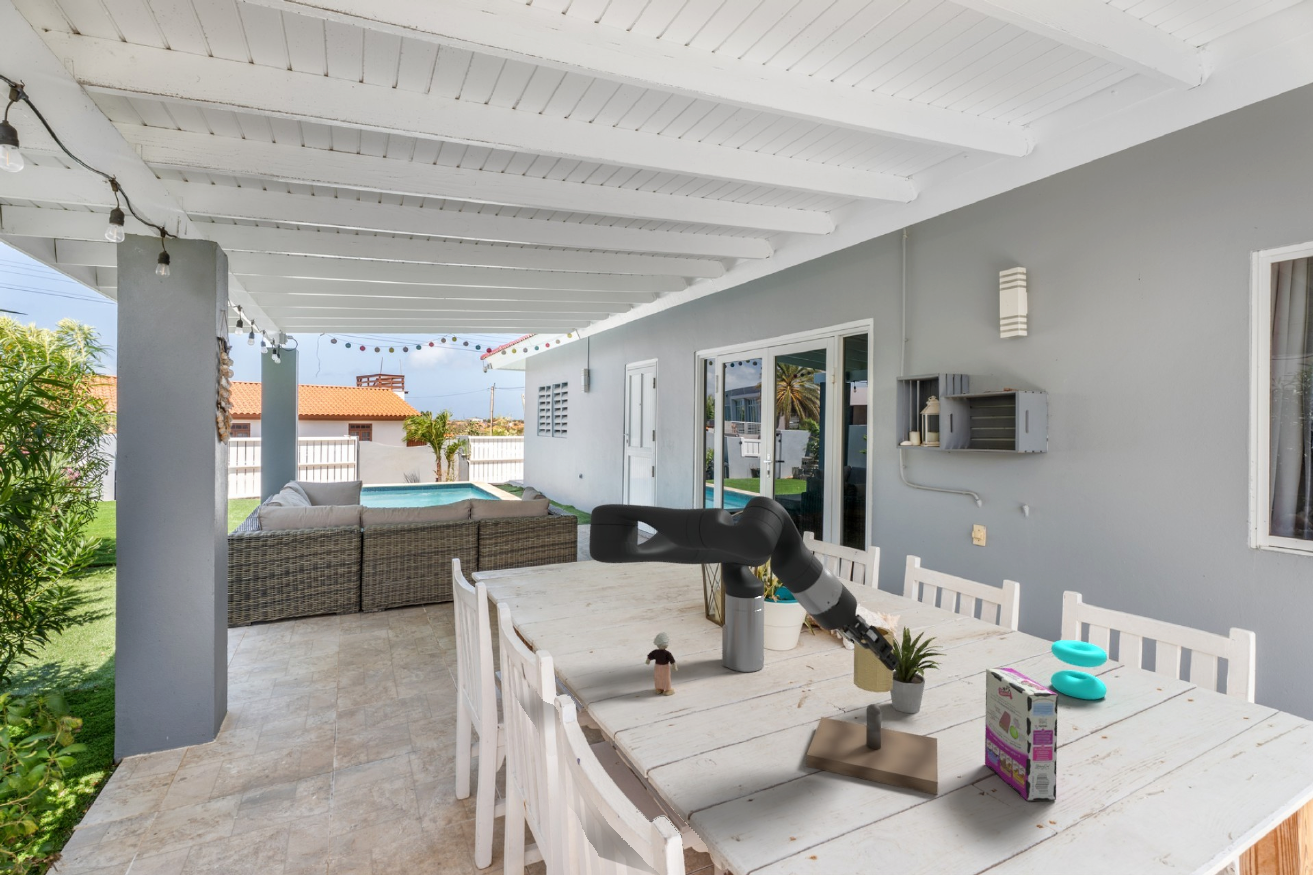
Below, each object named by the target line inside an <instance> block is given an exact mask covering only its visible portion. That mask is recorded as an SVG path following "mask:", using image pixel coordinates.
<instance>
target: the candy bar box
mask: <svg viewBox="0 0 1313 875" xmlns="http://www.w3.org/2000/svg"><path fill="white" fill-rule="evenodd" d="M985 672H986V675H985V676H986V679H985V680H986V681H985V735H984V736H985V739H984V742H985V743H984V764H985V766H986V767H988V768H989V769H990V770H991V771H992V772H994V774H996V775H997V776H998V777H999V778H1000V779H1001V780H1003V781H1004V782H1005V783H1006V784H1007V785H1009V786H1010V787H1011V788H1012V789H1013V790H1014V791H1016V792H1017V793H1018V794H1019V795H1020V796H1022V797H1023V798H1024V800H1026V801H1028V802H1040V801H1042V802H1044V801H1048V802H1050V801H1056V800H1057V759H1058V758H1057V754H1058V753H1057V752H1058V750H1057V749H1058V745H1057V743H1058V707H1059V706H1058V700H1059V698H1058V695H1059V694H1058V693H1056V692H1054V691H1052V690H1050V689H1049V688H1048V687H1045V685H1042V684H1041V683H1039V682H1036V681H1035V680H1033V679H1031V678H1029V677H1028V676H1026V675H1024V674H1022V673H1021V672H1020V671H1017V670H1015V669H1014V668H1012V667H1008V668H1007V667H1001V668H986V669H985Z"/></svg>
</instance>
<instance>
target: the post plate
mask: <svg viewBox="0 0 1313 875" xmlns="http://www.w3.org/2000/svg"><path fill="white" fill-rule="evenodd" d="M865 723H866V725H865V724H861V723H855V722H852V721H851V722H850V721H845V720H839V719H834V718H829V717H824V716H821V717H820V719H819V723H818V724H817V728H816V730H815V732H814V735H813V738H812V741H811V742H810V744H809V748H808V750H807V753H806V767H808V768H813V769H816V770H817V769H818V770H821V771H825V772H830V773H834V774H839V775H844V776H849V777H854V778H859V779H863V780H867V781H872V782H878V783H880V784H886V785H890V786H894V787H899V788H902V789H903V788H904V789H909V790H912V791H918V792H922V793H928V794H932V795H937V796H938V792H939V791H938V790H939V789H938V787H939V785H938V784H939V783H938V782H939V781H938V779H939V777H938V772H939V771H938V770H939V769H938V768H939V767H938V738H937V737H932V736H928V735H926V736H925V735H921V734H914V733H909V732H904V731H901V730H900V731H899V730H892V729H889V728H883V727H882V710H881V707H880V706H879V705H878V704H876V703H871V704H869V705H868V706H867V708H866V722H865Z"/></svg>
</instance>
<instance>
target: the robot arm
mask: <svg viewBox="0 0 1313 875" xmlns="http://www.w3.org/2000/svg"><path fill="white" fill-rule="evenodd" d="M589 522H590V523H589V524H590V525H589V541H588V542H589V548H588V550H589V555H590V558H592V559H593V560H594V561H596V562H600V563H605V564H630V563H633V564H635V563H665V564H667V563H668V564H678V565H679V564H681V565H709V564H711V565H712V564H721V573H722V574H721V577H722V581H723V584H724V590H725V594H724V596H725V598H724V600H725V602H724V608H725V609H724V616H725V617H724V624H723V625H722V627H721V628H722V633H721V634H722V636H721V637H722V639H721V640H722V641H721V642H722V644H721V645H722V646H721V647H722V648H721V651H722V653H721V658H722V659H721V660H722V661H721V666H723V667H726V668H729V669H730V670H733V671H737V672H743V673H744V672H745V673H747V672H748V673H749V672H757V671H760V670H762V669H763V668H764V667H765V666H764V664H765V663H764V662H765V646H764V645H765V584H764V582H763V581H762V580H761V578H759V577H757V576H756V575H755V574H754V573H753V572H752V571H751V569H750V567H751V568H758V567H762V566H764V565H765V564H766V563H767V562H769V561H770V562H769V564H770V565H769V567H770V570H771V573H772V574H773V575H774V576H775V577H776V578H777V580H778V581H779V582H780V583H781V584H782V585H783V586H784V587H785V588H786V590H788V592H790V593H791V595H792V596H793V597H794V599H795V600H796V602H797V603H799V605H800V606H801V607H802V608H803V609H804V611H806V613H808V615H810V616H811V617H812V618H813V620H814V621H815V622H816V623H817V624H818V625H819V626H820V627H821V629H824V630H826V631H834V630H835V631H836V632H837V633H838V635H839V636H840V637H843V638H844V639H846V640H847V641H848V642H849V643H852V645H854V641H855V642H856V643H857V644H858V645H860V646H861V647H862V648H863V649H869V650H870V651H871V652H872V653H873V654H874V655H875V656H876V657H877V658H878V659H879V660H880V661H881V662H882V663H883V664H884V665H885V666H886V667H887V668H888V669H889V670H891V671H895V668H896V667H897V666H898V664H899V660H898V659H897V658H896V657H895V655H894V654H893V653H892V652H891V651H892V650H893V649H894V647H892V645H890V644H889V642H888V641H887V640H886V639H885V638H884V637H883V636H882V634H881V633H880V632H879V631H878V630H877V629H876V627H875V626H876V625H873V624H871V625H870V624H869V623H867V621H866V619H865V618H863V616H862V615H860V614H858V613H857V607H858V602H857V601H858V600H857V599H856V597H855V596H854V594H853V593H852V592H850V590H849V589H848V588H847V587H846V586H845V584H843V583H842V581H841V580H840V579H839V578H838V577H837V576H836V575H835V574H834V573H833V572H832V571H831V570H830V569H829V568H828V567H827V566H825V565H824V564H823V563H822V562H821V561H820V560H819V559H818V558H817V557H816V556H815V555H814V554H813V553H812V551H811V550H810V549H809V548H808V547H807V546H806V544H805V542H804V539H803V537H802V536H801V534H800V531H799V529H798V528H797V526H796V524H795V523H794V521H793V519H792V517H791V515H790V514H789V513H788V511H787V509H786V508H784V506H783V505H782V504H781V503H779V502H778V501H776V500H775V499H773V498H771V497H768V496H764V495H763V496H756V497H753V498H751V499H750V500H748V502H747V503H746V504H745V506H744V508H743V510H742V513H741V514H740V517H739V518H738V520H737V522H736V524H735V523H734V518H733V517H732V514H731V513H730V512H729V511H728V510H726V509H725V508H722V507H721V508H720V507H707V508H706V507H703V508H673V507H672V508H669V507H662V506H654V505H641V504H640V505H639V504H638V505H637V504H623V503H622V504H620V503H615V504H614V503H607V504H600V505H598V506H596V507H594V508H593V509H592V510H591V514H590V521H589ZM639 522H640V523H643V524H646V525H648V526H649V527H651V528H652V529H654V530H655V531H656V533H655V534H653V535H652V536H651V537H650V538H648V539H647V540H646V541H644V542H642V543H639V541H638V540H639ZM638 543H639V544H638ZM863 639H864V641H865V643H862V642H861V640H863Z"/></svg>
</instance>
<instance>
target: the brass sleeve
mask: <svg viewBox="0 0 1313 875" xmlns="http://www.w3.org/2000/svg"><path fill="white" fill-rule="evenodd" d="M874 626H875V627H876V629H877V630H878V631H879V632H880V633H881V634H882V636H883V637H884V638H885V639H886V640H887V641H888V642H889V644H890V645H892V647H893V639H894V638H893V637H894V631H892V630H891V629H888V628H886V627H882V626H878V625H877V626H876V625H874ZM861 642H862V643H865V641H864V639H863V640H861ZM893 648H894V647H893ZM891 652H892V653H893V650H892V651H891ZM893 671H894V670H893ZM893 671H891V670H889V669H888V668H887V667H886V666H885V665H884V664H883V663H882V662H881V661H880V660H879V659H878V658H877V657H876V656H875V655H874V654H873V653H872V652H871V651H870V650H869V649H863V648H862V647H861V646H860V645H858V644H857V643H856V642H855V641H854V644H853V684H854V685H855V686H856V687H857V688H859V689H862V690H863V691H866V692H873V693H887V692H890V690H892V687H893Z"/></svg>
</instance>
